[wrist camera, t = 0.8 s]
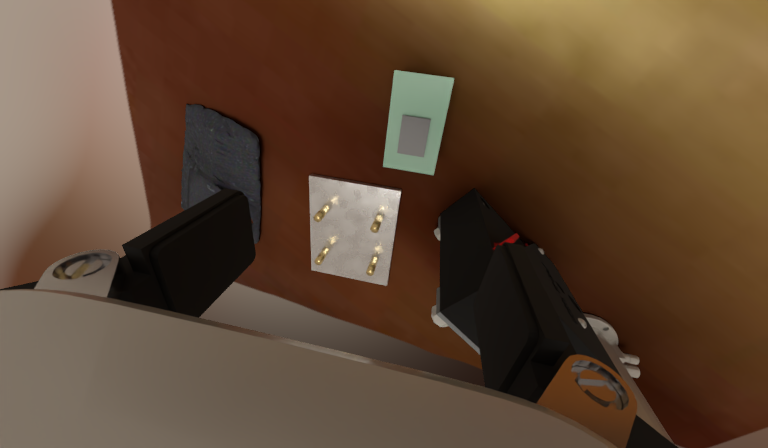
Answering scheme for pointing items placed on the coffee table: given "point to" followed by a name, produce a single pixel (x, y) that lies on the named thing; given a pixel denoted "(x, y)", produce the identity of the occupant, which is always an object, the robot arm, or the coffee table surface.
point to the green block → (416, 121)
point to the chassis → (352, 227)
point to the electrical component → (469, 264)
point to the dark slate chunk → (220, 160)
